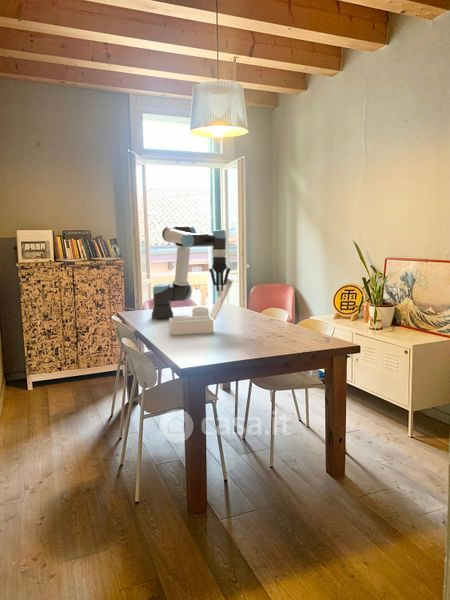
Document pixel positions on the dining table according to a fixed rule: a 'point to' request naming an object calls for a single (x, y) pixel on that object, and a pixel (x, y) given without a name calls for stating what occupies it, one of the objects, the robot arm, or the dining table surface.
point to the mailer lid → (220, 300)
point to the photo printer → (200, 311)
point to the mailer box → (190, 325)
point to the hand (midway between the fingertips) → (219, 296)
